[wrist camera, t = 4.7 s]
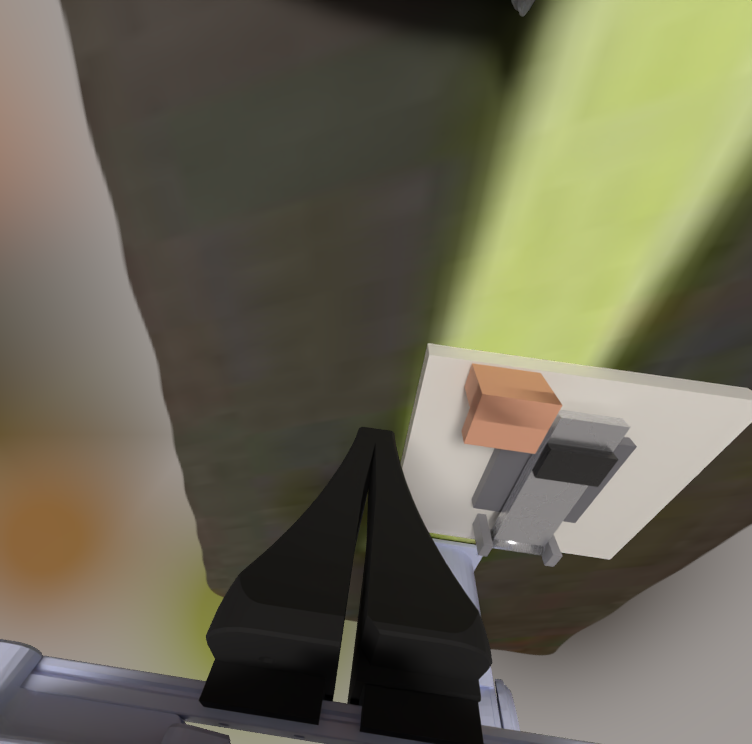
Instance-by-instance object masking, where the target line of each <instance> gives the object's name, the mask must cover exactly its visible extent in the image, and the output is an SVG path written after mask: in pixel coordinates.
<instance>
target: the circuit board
mask: <svg viewBox="0 0 752 744" xmlns="http://www.w3.org/2000/svg"><path fill="white" fill-rule="evenodd" d="M472 363H473V364H480V365H488V366H495V367H502V368H509V369H516V370H523V371H530V372H537V373H541V374H542V375H543V377H544V378H545V380H546V381H547V383H548V384H549V386H550V387H551V389H552V390H553V392H554V393H555V395H556V396H557V398H558V399H559V401H560V402H561V404H562V405H563V406H562V407H561V409H560V410H566V411H573V412H580V413H587V414H594V415H601V416H608V417H615V418H622V419H623V420H624V421H625V422H626V423H627V424H628V425H629V426H630V427H631V428H630V429H629V430H628V432H627V433H626V435H625V436H624V437H623V439H622V440H621V442H620V443H619V444H618V446H617V447H616V448H615V450H614V451H613V453H614V454H615V456H616V457H617V458H618V461H617V462H616V464H615V465H614V466H613V468H612V469H611V470H610V472H609V473H608V474H607V476H606V477H605V478H604V480H603V481H602V482H601V484H600V485H599V486H598V487H594V486H588V487H587V489H586V490H585V491H584V493H583V494H582V496H581V497H580V498H579V500H578V501H577V502H576V504H575V505H574V507H573V508H572V509H571V511H570V512H569V514H568V515H567V516H566V518H565V519H564V520H563V522H562V523H561V525H560V526H559V527H558V529H557V530H556V532H555V533H554V534H553V536H552V537H551V538H550V540H549V541H548V543H547V544H546V545H545V551H544V554H543V555H541V556H542V559H543V561H544V564H545V565H546V566H553V567H554V566H555V564H556V563H557V562H558V561H559V560H560V559H561V557H562V554H561V552H563V553H569V554H576V555H583V556H589V557H596V558H603V559H609V560H610V559H611V558H612V557H613V556H614V555H615V554H616V553H617V552H618V551H619V550H620V549H621V548H622V547H623V546H624V545H625V544H627V543H628V542H629V541H630V540H631V539H632V538H633V537H634V536H635V535H636V534H637V533H638V532H639V531H640V530H641V529H642V528H643V527H644V526H645V525H646V524H647V523H648V522H649V521H650V520H651V519H652V518H653V517H654V516H655V515H656V514H657V513H658V512H659V511H661V510H662V509H663V508H664V507H665V506H666V505H667V504H668V503H669V502H670V501H671V500H672V499H673V498H674V497H675V496H676V495H677V494H678V493H679V492H680V491H681V490H682V489H683V488H684V487H685V486H686V485H687V484H688V483H689V482H690V481H691V480H692V479H694V478H695V477H696V476H697V475H698V474H699V473H700V472H701V471H702V470H703V469H704V468H705V467H706V466H707V465H708V464H709V463H710V462H711V461H712V460H713V459H714V458H715V457H716V456H717V455H718V454H719V453H720V452H721V451H722V450H723V449H724V448H725V447H726V446H728V445H729V444H730V443H731V442H732V441H733V440H734V439H735V438H736V437H737V436H738V435H739V434H740V433H741V432H742V431H743V430H744V429H745V428H746V427H747V426H748V425H749V424H750V423H751V422H752V391H751V390H750V389H748V388H743V387H736V386H729V385H722V384H715V383H708V382H701V381H693V380H686V379H679V378H672V377H665V376H658V375H651V374H644V373H636V372H629V371H622V370H615V369H608V368H601V367H594V366H587V365H579V364H572V363H565V362H558V361H551V360H544V359H537V358H530V357H522V356H515V355H508V354H501V353H494V352H487V351H480V350H473V349H466V348H458V347H451V346H444V345H437V344H430V343H428V345H427V349H426V353H425V358H424V362H423V367H422V371H421V375H420V380H419V384H418V389H417V393H416V397H415V402H414V406H413V411H412V415H411V419H410V424H409V428H408V433H407V437H406V441H405V446H404V450H403V455H402V459H401V463H400V464H401V467H402V470H403V473H404V476H405V479H406V482H407V485H408V488H409V490H410V493H411V495H412V498H413V500H414V503H415V505H416V507H417V509H418V512H419V514H420V516H421V518H422V520H423V522H424V524H425V526H426V528H427V530H428V532H430V533H436V534H443V535H450V536H456V537H463V538H470V539H475V541H476V546H477V552H478V555H480V556H487V555H488V554H489V552H490V550H491V549H492V547H493V543H492V538H491V534H490V528H493V526H494V524H495V522H496V520H497V518H498V516H499V514H500V513H501V511H502V509H503V507H504V505H505V503H506V501H507V499H508V498H509V496H510V494H511V492H512V490H513V488H514V486H515V484H516V482H517V481H518V479H519V477H520V475H521V473H522V471H523V469H524V467H525V465H526V464H527V462H528V460H529V458H530V456H531V454H532V453H525V452H518V451H511V450H504V449H497V448H491V447H484V446H477V445H470V444H464V441H463V436H462V432H461V431H462V428H463V425H464V423H465V420H466V417H467V414H468V411H469V409H470V406H469V403H468V399H467V395H466V391H465V384H466V380H467V377H468V374H469V371H470V368H471V365H472Z"/></svg>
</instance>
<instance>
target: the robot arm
mask: <svg viewBox="0 0 752 744" xmlns="http://www.w3.org/2000/svg"><path fill="white" fill-rule="evenodd" d="M368 488H369V490H368ZM367 492H368V516H367V543H366V556H365V565H364V573H363V582H362V590H361V598H360V606H359V615H358V623H357V631H356V639H355V647H354V656H353V663H352V671H351V679H350V687H349V695H348V703H347V704H346V703H340V702H333V695H334V690H335V683H336V676H337V669H338V661H339V655H340V648H341V641H342V634H343V627H344V620H345V613H346V606H347V599H348V592H349V585H350V578H351V572H352V565H353V558H354V551H355V546H356V541H357V537H358V532H359V528H360V523H361V519H362V515H363V510H364V506H365V501H366V497H367ZM481 558H482V556H480V555H478V552H477V546H476V545H474V544H467V543H461V542H454V541H448V540H441V539H434V538H431V536H430V534H429V532H428V530H427V528H426V526H425V524H424V522H423V520H422V518H421V516H420V514H419V512H418V509H417V507H416V505H415V503H414V500H413V498H412V495H411V493H410V490H409V488H408V485H407V482H406V479H405V476H404V473H403V470H402V467H401V464H400V460H399V456H398V452H397V448H396V443H395V435H394V433H393V432H392V431H388V430H381V429H374V428H367V427H361V428H359V430H358V433H357V436H356V438H355V440H354V442H353V444H352V446H351V448H350V450H349V452H348V454H347V455H346V457H345V459H344V460H343V462H342V464H341V465H340V467H339V468H338V470H337V471H336V473H335V474H334V476H333V477H332V479H331V480H330V481H329V483H328V484H327V486H326V487H325V488H324V490H323V491H322V492H321V493H320V495H319V496H318V497H317V498H316V500H315V501H314V502H313V503H312V504H311V506H310V507H309V508H308V509H307V510H306V511H305V512H304V513H303V515H302V516H301V517H300V518H299V519H298V520H297V521H296V522H295V523H294V524H293V525H292V526H291V527H290V528H289V529H288V530H287V531H286V532H285V533H284V534H283V535H282V536H281V537H280V538H279V539H278V540H277V541H276V542H275V543H274V544H273V545H272V546H271V547H270V548H269V549H267V550H266V551H265V552H264V553H263V554H262V555H261V556H259V557H258V558H257V559H256V560H255V561H254V562H253V563H251V564H250V565H249V566H248V567H247V568H246V569H244V570H243V571H242V572H241V573H240V574H239V575H238V577H237V578H236V579H235V581H234V582H233V584H232V585H231V587H230V588H229V590H228V592H227V593H226V595H225V597H224V598H223V600H222V602H221V604H220V606H219V607H218V609H217V612H216V614H215V617H214V619H213V621H212V623H211V625H210V628H209V630H208V632H207V635H206V640H207V644H208V646H209V648H210V650H211V652H212V654H213V656H214V657H215V661H214V663H213V666H212V668H211V671H210V673H209V676H208V678H207V681H200V680H194V679H188V678H182V677H176V676H169V675H162V674H157V673H150V672H144V671H138V670H130V669H125V668H118V667H113V666H106V665H100V664H94V663H87V662H81V661H75V660H68V659H62V658H56V657H49V656H43V655H42V653H41V652H40V651H39V650H38V649H36V648H35V647H33V646H31V645H28V644H25V643H21V642H16V641H9V640H3V639H0V744H231V743H230V738H229V735H225V734H221V733H218V732H214V731H210V730H207V729H203V728H199V727H195V726H192V725H187V724H186V723H185V721H187V722H193V723H200V724H206V725H212V726H218V727H224V728H231V729H237V730H243V731H250V732H256V733H262V734H268V735H274V736H281V737H287V738H293V739H300V740H306V741H312V742H318V743H324V744H599V743H592V742H585V741H579V740H573V739H566V738H560V737H555V736H548V735H542V734H536V733H529V732H523V731H520V728H519V723H518V718H517V713H516V709H515V705H514V701H513V697H512V693H511V691H510V690H509V689H508V687H507V686H506V685H504V682H503V681H502V680H501V679H495V686H496V693H497V700H496V694H495V689H494V683H493V677H492V671H491V664H492V658H491V651H490V646H489V642H488V638H487V634H486V631H485V628H484V624H483V622H482V619H481V613H480V607H479V601H478V595H477V589H476V583H475V577H474V570H475V568H476V567H477V565H478V563H479V561H480V560H481ZM497 704H498V705H497Z"/></svg>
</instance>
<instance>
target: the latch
mask: <svg viewBox="0 0 752 744" xmlns="http://www.w3.org/2000/svg"><path fill="white" fill-rule="evenodd" d="M465 391H466V395H467V399H468V403H469V406H470V409H469V411H468V414H467V417H466V420H465V423H464V425H463V428H462V431H461V432H462V436H463V441H464V444H470V445H477V446H484V447H491V448H497V449H504V450H511V451H518V452H525V453H532V454H535V453H536V452H537V450H538V448H539V446H540V445H541V443H542V441H543V439H544V437H545V436H546V434H547V432H548V430H549V429H550V427H551V425H552V423H553V421H554V420H555V418H556V416H557V414H558V413H559V411H560V409H561V407H562V406H563V405H562V404H561V402H560V401H559V399H558V398H557V396H556V395H555V393H554V392H553V390H552V389H551V387H550V386H549V384H548V383H547V381H546V380H545V378H544V377H543V375H542V374H541V373H537V372H530V371H523V370H516V369H509V368H502V367H495V366H488V365H480V364H473V363H472V365H471V368H470V371H469V374H468V377H467V380H466V384H465Z"/></svg>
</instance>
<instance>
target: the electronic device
mask: <svg viewBox="0 0 752 744" xmlns="http://www.w3.org/2000/svg"><path fill="white" fill-rule="evenodd" d="M511 1H512V4H513V6H514V8H515V10H517V11H519V14H520V15H521V16H523V17H524V16H525V15H526V13H527V12H528V10H529V9H530V7H531V6H532V4H533V3H534V1H535V0H511Z"/></svg>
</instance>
